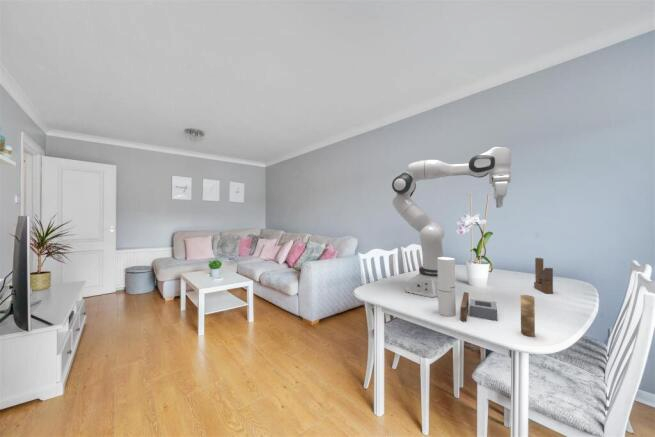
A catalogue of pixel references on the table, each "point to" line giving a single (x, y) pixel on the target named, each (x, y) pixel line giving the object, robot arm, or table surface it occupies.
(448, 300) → the cylindrical container
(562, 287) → the table surface
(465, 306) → the rail
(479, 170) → the robot arm
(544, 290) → the wooden block
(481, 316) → the socket block
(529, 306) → the brown wooden tall bar
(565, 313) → the table surface
